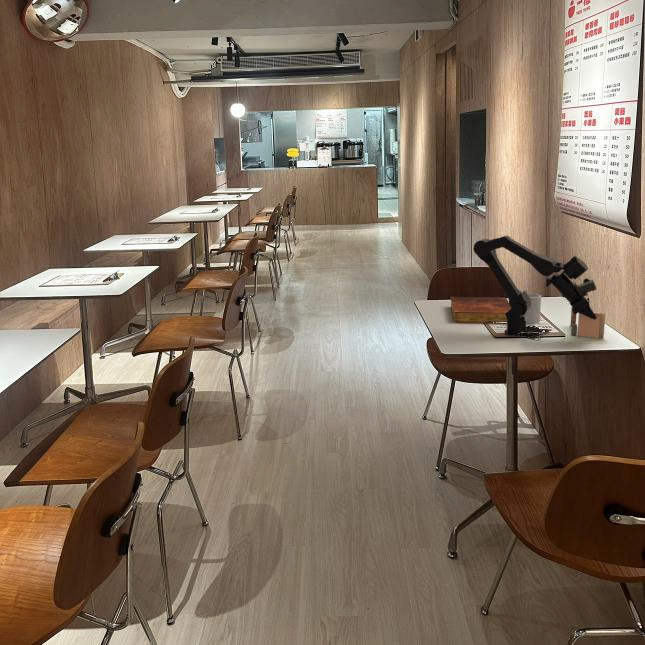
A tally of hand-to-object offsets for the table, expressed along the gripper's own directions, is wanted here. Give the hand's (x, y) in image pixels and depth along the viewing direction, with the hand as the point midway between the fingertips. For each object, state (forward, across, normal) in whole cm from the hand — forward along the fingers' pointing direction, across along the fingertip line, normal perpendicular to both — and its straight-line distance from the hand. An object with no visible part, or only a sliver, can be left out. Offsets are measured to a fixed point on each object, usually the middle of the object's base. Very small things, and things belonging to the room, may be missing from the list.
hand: (595, 318), depth 292 cm
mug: (-11, +24, +23) cm, 35 cm away
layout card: (+3, +6, +8) cm, 10 cm away
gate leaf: (+4, +2, +6) cm, 8 cm away
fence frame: (0, +11, +10) cm, 15 cm away
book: (-24, +31, +37) cm, 54 cm away
